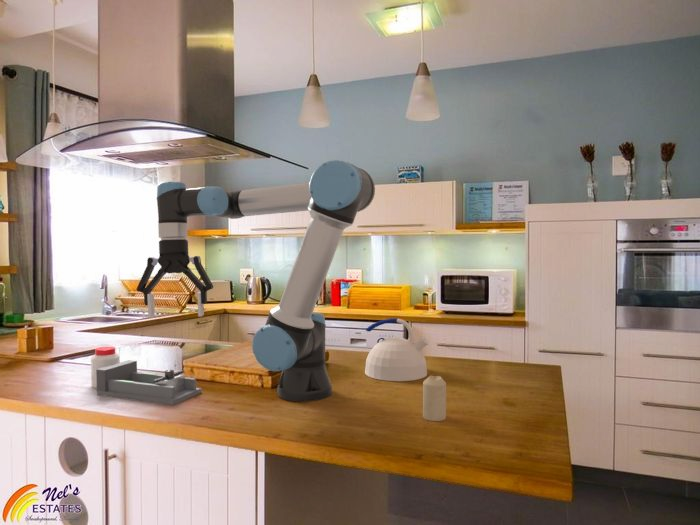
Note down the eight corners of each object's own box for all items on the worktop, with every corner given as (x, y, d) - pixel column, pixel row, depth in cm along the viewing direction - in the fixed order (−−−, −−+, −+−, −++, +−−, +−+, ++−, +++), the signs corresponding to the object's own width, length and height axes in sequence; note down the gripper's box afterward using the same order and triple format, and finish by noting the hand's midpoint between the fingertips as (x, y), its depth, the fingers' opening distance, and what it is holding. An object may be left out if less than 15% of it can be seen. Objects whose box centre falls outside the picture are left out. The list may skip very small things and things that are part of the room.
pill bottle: (108, 389, 149) (108, 351, 149) (85, 387, 151) (84, 350, 150) (125, 382, 157) (125, 346, 156) (103, 380, 158) (102, 345, 158)
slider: (189, 386, 146) (188, 366, 146) (160, 398, 136) (160, 376, 135) (177, 385, 148) (177, 365, 148) (148, 396, 137) (148, 375, 137)
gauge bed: (201, 392, 145) (201, 367, 145) (172, 405, 134) (172, 377, 134) (129, 383, 154) (128, 360, 154) (96, 394, 143) (96, 369, 143)
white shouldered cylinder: (430, 422, 120) (431, 380, 120) (418, 415, 125) (418, 375, 125) (450, 419, 123) (450, 378, 122) (437, 412, 128) (437, 372, 127)
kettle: (421, 384, 154) (422, 324, 153) (356, 378, 160) (356, 321, 160) (433, 368, 173) (433, 315, 172) (374, 364, 180) (374, 312, 179)
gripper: (222, 238, 144) (225, 313, 145) (133, 240, 144) (136, 316, 145) (215, 237, 136) (218, 317, 137) (121, 240, 136) (124, 319, 137)
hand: (176, 316), depth 141 cm, fingers open, 13 cm apart
